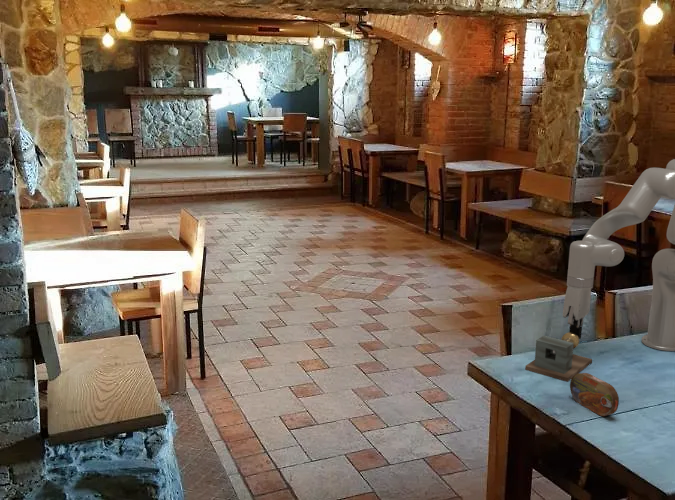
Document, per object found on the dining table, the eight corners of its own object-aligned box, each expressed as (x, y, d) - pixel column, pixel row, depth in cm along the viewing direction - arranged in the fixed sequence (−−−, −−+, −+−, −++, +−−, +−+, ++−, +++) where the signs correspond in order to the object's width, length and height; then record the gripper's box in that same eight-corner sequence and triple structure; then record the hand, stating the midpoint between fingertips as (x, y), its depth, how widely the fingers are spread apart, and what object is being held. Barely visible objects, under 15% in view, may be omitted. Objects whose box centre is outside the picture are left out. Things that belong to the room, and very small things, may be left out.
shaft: (562, 345, 210) (564, 330, 209) (578, 349, 207) (580, 334, 206) (544, 358, 201) (545, 342, 199) (560, 362, 197) (562, 346, 196)
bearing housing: (551, 351, 214) (553, 324, 212) (591, 362, 206) (594, 334, 204) (525, 369, 201) (527, 340, 199) (567, 381, 193) (570, 351, 191)
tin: (567, 397, 183) (570, 368, 181) (577, 395, 185) (579, 366, 183) (609, 422, 170) (612, 391, 168) (619, 419, 171) (622, 389, 169)
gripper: (577, 274, 214) (572, 329, 218) (557, 284, 203) (552, 342, 207) (601, 278, 209) (596, 334, 213) (582, 289, 198) (576, 348, 202)
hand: (574, 338), depth 210 cm, fingers closed
